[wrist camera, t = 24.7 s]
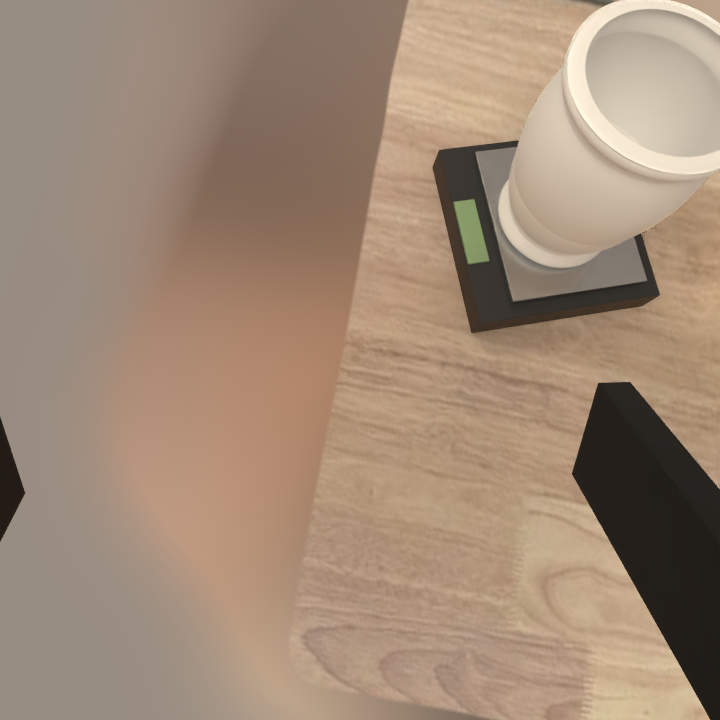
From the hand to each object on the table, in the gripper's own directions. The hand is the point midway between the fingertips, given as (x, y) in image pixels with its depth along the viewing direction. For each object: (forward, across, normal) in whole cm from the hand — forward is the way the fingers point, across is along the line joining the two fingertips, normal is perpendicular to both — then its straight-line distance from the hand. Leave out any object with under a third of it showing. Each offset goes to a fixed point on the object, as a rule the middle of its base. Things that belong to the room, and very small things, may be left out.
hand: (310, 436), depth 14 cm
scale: (+34, +19, -8) cm, 40 cm away
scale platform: (+33, +19, -6) cm, 38 cm away
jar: (+32, +19, -6) cm, 38 cm away
